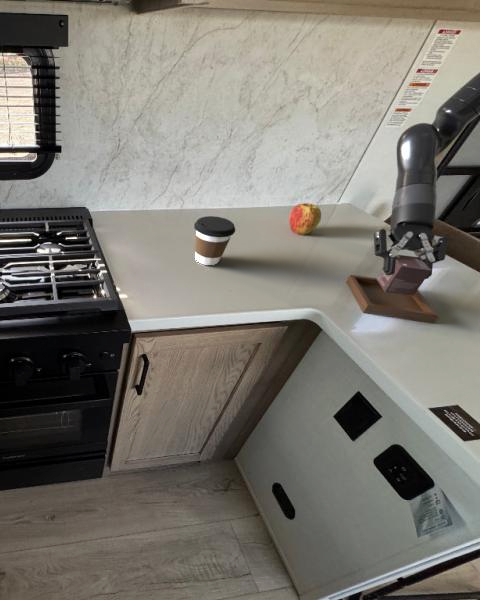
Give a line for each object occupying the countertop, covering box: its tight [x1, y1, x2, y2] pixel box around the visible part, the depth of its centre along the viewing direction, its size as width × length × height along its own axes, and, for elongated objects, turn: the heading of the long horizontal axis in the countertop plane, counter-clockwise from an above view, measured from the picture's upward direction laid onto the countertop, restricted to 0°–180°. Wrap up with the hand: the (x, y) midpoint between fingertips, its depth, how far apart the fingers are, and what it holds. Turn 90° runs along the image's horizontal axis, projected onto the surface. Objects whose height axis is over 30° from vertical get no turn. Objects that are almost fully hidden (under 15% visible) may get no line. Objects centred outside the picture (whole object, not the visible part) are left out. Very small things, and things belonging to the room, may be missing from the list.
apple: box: [288, 202, 322, 236], centre depth 114 cm, size 9×9×10 cm
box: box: [375, 254, 431, 296], centre depth 81 cm, size 6×6×7 cm
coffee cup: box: [193, 215, 236, 266], centre depth 99 cm, size 11×11×12 cm
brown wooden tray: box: [345, 274, 440, 324], centre depth 85 cm, size 14×14×2 cm
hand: (406, 276), depth 80 cm, fingers closed on box, 6 cm apart
